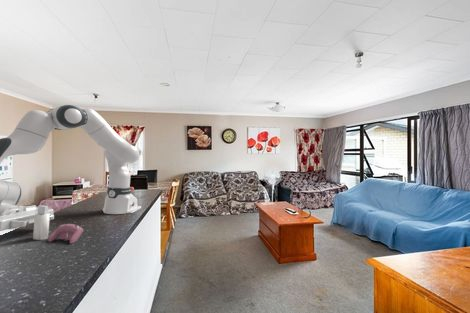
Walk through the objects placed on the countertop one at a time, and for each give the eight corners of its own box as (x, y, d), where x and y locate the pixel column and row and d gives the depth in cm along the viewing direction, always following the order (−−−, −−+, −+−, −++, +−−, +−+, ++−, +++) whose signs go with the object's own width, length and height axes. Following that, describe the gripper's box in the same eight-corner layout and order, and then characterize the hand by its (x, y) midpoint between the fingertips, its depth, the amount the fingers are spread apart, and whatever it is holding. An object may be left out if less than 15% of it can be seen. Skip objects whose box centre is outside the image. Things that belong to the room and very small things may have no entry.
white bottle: (38, 236, 86) (41, 204, 86) (50, 237, 85) (52, 205, 85) (30, 238, 83) (33, 206, 83) (42, 240, 82) (44, 207, 82)
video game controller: (79, 245, 83) (87, 226, 87) (71, 243, 79) (79, 223, 83) (55, 242, 84) (63, 223, 87) (45, 241, 80) (54, 221, 83)
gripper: (-25, 215, 76) (9, 219, 74) (37, 204, 96) (65, 207, 94) (-27, 233, 76) (7, 238, 74) (35, 218, 96) (64, 222, 94)
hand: (40, 220), depth 84 cm, fingers open, 8 cm apart
